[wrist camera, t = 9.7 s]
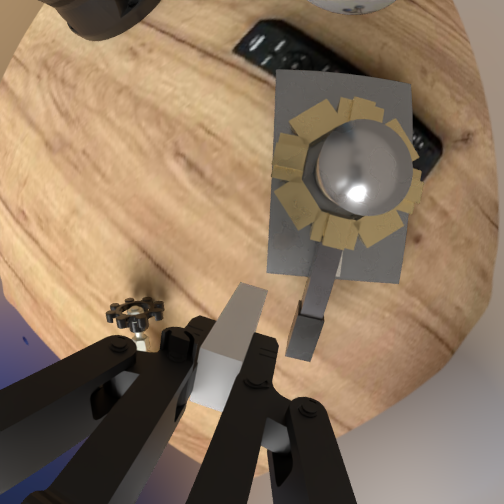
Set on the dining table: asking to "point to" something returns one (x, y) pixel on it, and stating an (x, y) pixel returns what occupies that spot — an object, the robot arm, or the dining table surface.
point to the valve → (136, 318)
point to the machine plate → (281, 225)
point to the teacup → (352, 6)
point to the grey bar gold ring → (327, 222)
